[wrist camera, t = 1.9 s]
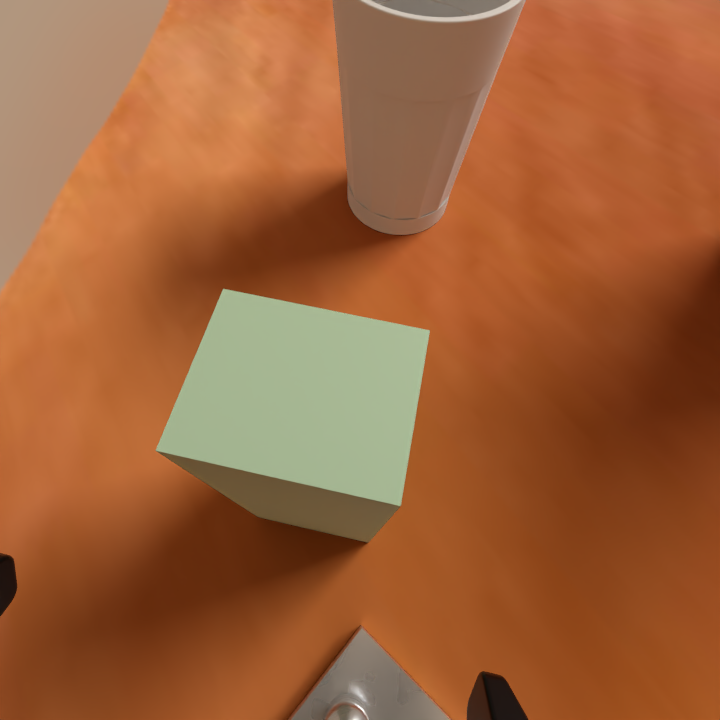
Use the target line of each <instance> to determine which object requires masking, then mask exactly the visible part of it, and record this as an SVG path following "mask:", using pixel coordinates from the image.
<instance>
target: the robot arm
mask: <svg viewBox="0 0 720 720" xmlns="http://www.w3.org/2000/svg"><path fill="white" fill-rule="evenodd" d="M16 591H17V580H16V572H15V564H14V559H13V558H12V557H11V556H10V555H6V554H2V553H0V616H1V615H2V614H3V612H4V611H5V610H6V608H7V607H8V606H9V604H10V603H11V601H12V600H13V598H14V596H15V594H16ZM467 720H528V718H527V716H526V714H525V713H524V711H523V709H522V707H521V706H520V704H519V702H518V700H517V699H516V697H515V695H514V693H513V691H512V690H511V688H510V686H509V684H508V683H507V681H506V680H505V678H504V677H502V676H501V675H497V674H493V673H489V672H485V671H482V672H481V673H479V675H478V677H477V680H476V682H475V685H474V688H473V690H472V693H471V695H470V698H469V701H468V707H467Z"/></svg>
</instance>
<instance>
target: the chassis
mask: <svg viewBox="0 0 720 720" xmlns="http://www.w3.org/2000/svg"><path fill="white" fill-rule="evenodd" d="M288 720H452V719H451V718H450V717H449V716H448V715H447V714H446V713H445V712H444V711H443V710H442V709H441V708H440V707H439V706H438V705H437V704H436V703H435V702H434V701H433V700H432V699H431V697H430V696H429V695H428V694H427V693H426V692H425V691H424V690H423V689H422V688H421V687H420V686H419V685H418V684H417V683H416V682H415V681H414V680H413V679H412V678H411V677H410V676H409V675H408V674H407V673H406V671H405V670H404V669H403V668H402V667H401V666H400V665H399V664H398V663H397V662H396V661H395V660H394V659H393V658H392V657H391V656H390V655H389V654H388V653H387V652H386V651H385V650H384V649H383V648H382V646H381V645H380V644H379V643H378V642H377V641H376V640H375V639H374V638H373V637H372V636H371V635H370V634H369V633H368V632H367V631H366V630H365V629H364V628H363V627H362V626H360V627H359V628H358V629H357V631H356V632H355V633H354V635H353V636H352V637H351V638H350V640H349V641H348V642H347V644H346V645H345V646H344V648H343V649H342V650H341V651H340V653H339V654H338V655H337V657H336V658H335V659H334V660H333V662H332V663H331V664H330V666H329V667H328V668H327V669H326V671H325V672H324V673H323V675H322V676H321V677H320V678H319V680H318V681H317V682H316V684H315V685H314V686H313V688H312V689H311V690H310V691H309V693H308V694H307V695H306V697H305V698H304V699H303V700H302V702H301V703H300V704H299V706H298V707H297V708H296V709H295V711H294V712H293V713H292V715H291V716H290V717H289V718H288Z"/></svg>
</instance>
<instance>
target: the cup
mask: <svg viewBox="0 0 720 720" xmlns="http://www.w3.org/2000/svg"><path fill="white" fill-rule="evenodd" d="M525 1H526V0H333V10H334V20H335V31H336V42H337V53H338V66H339V78H340V91H341V103H342V116H343V128H344V141H345V154H346V166H347V179H348V189H347V197H348V203H349V206H350V208H351V210H352V212H353V213H354V215H355V216H356V217H357V218H358V219H359V220H360V221H361V222H362V223H364V224H365V225H367V226H368V227H370V228H372V229H374V230H377V231H379V232H383V233H387V234H393V235H408V234H414V233H418V232H421V231H424V230H426V229H428V228H430V227H431V226H433V225H434V224H435V223H437V222H438V221H439V219H440V218H441V217H442V215H443V214H444V212H445V209H446V206H447V202H448V198H449V195H450V192H451V189H452V187H453V184H454V182H455V179H456V177H457V174H458V171H459V169H460V166H461V164H462V161H463V158H464V156H465V153H466V151H467V148H468V146H469V143H470V140H471V138H472V135H473V133H474V130H475V127H476V125H477V122H478V120H479V117H480V115H481V112H482V109H483V107H484V104H485V102H486V99H487V96H488V94H489V91H490V89H491V86H492V84H493V81H494V78H495V76H496V73H497V71H498V68H499V66H500V63H501V61H502V58H503V56H504V53H505V51H506V48H507V46H508V43H509V41H510V38H511V36H512V33H513V31H514V28H515V26H516V23H517V21H518V18H519V16H520V13H521V11H522V8H523V6H524V3H525Z"/></svg>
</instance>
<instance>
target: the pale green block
mask: <svg viewBox="0 0 720 720" xmlns="http://www.w3.org/2000/svg"><path fill="white" fill-rule="evenodd" d="M429 333H430V330H425V329H420V328H415V327H410V326H405V325H400V324H395V323H390V322H385V321H381V320H376V319H371V318H366V317H361V316H356V315H351V314H346V313H341V312H336V311H331V310H326V309H321V308H316V307H311V306H306V305H301V304H297V303H292V302H287V301H282V300H277V299H272V298H267V297H262V296H257V295H252V294H247V293H242V292H237V291H232V290H227V289H223V291H222V293H221V295H220V298H219V300H218V303H217V305H216V307H215V310H214V312H213V315H212V317H211V319H210V322H209V324H208V326H207V329H206V331H205V334H204V336H203V338H202V341H201V343H200V346H199V348H198V350H197V353H196V355H195V358H194V360H193V362H192V365H191V367H190V370H189V372H188V374H187V377H186V379H185V382H184V384H183V386H182V389H181V391H180V393H179V396H178V398H177V401H176V403H175V405H174V408H173V410H172V413H171V415H170V417H169V420H168V422H167V425H166V427H165V429H164V432H163V434H162V437H161V439H160V441H159V444H158V446H157V449H156V451H157V452H158V453H160V454H162V455H163V456H165V457H166V458H168V459H169V460H171V461H172V462H174V463H175V464H177V465H178V466H180V467H182V468H183V469H185V470H186V471H188V472H189V473H191V474H192V475H194V476H195V477H197V478H198V479H200V480H202V481H203V482H205V483H206V484H208V485H209V486H211V487H212V488H214V489H215V490H217V491H218V492H220V493H221V494H223V495H225V496H226V497H228V498H229V499H231V500H232V501H234V502H235V503H237V504H238V505H240V506H241V507H243V508H245V509H246V510H248V511H249V512H251V513H252V514H254V515H255V516H257V517H259V518H264V519H268V520H272V521H277V522H281V523H285V524H289V525H294V526H298V527H302V528H307V529H311V530H315V531H320V532H324V533H328V534H333V535H337V536H341V537H345V538H350V539H354V540H358V541H363V542H367V543H368V542H369V541H370V540H371V539H372V538H373V537H374V536H375V535H376V533H377V532H378V531H379V530H380V529H381V528H382V527H383V526H384V524H385V523H386V522H387V521H388V520H389V519H390V518H391V516H392V515H393V514H394V513H395V512H396V511H397V510H398V509H399V507H400V506H401V501H402V495H403V489H404V483H405V477H406V471H407V465H408V459H409V453H410V447H411V441H412V435H413V429H414V423H415V417H416V411H417V405H418V399H419V393H420V387H421V381H422V375H423V369H424V363H425V357H426V351H427V345H428V339H429Z"/></svg>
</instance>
